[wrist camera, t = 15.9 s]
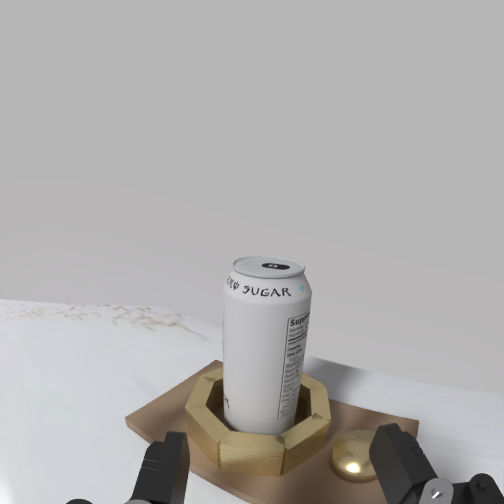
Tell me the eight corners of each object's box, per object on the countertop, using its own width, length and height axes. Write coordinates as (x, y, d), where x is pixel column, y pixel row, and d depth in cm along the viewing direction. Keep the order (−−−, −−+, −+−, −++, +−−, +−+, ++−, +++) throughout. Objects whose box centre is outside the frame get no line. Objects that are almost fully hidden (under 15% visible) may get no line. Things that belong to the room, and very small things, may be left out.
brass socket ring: (367, 392, 28) (374, 366, 27) (392, 479, 16) (408, 453, 15) (209, 383, 30) (208, 356, 29) (174, 469, 18) (167, 442, 17)
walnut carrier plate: (415, 429, 22) (419, 420, 22) (381, 545, 11) (387, 539, 11) (216, 367, 35) (216, 359, 34) (127, 426, 23) (124, 417, 23)
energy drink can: (240, 400, 27) (243, 250, 24) (299, 414, 25) (320, 259, 22) (212, 438, 22) (206, 269, 18) (281, 458, 20) (304, 283, 16)
